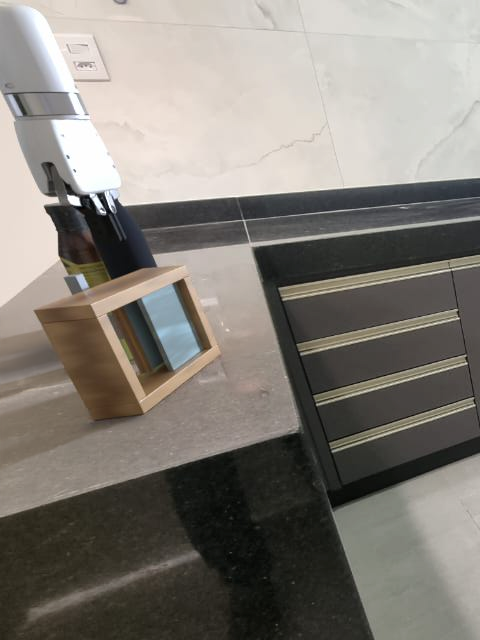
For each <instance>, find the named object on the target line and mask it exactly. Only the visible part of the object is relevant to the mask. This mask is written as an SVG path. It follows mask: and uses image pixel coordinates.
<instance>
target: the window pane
mask: <svg viewBox="0 0 480 640" xmlns="http://www.w3.org/2000/svg"><path fill="white" fill-rule="evenodd" d="M63 279H64V282H65V284H66V286H67V288H68V291H70V294H71V296H72V295H74V294H77V293H80V292H82V291H85V290H87V289H90V288H89V286H88V284H87V282H86V280H85V278H84V276H83V274H73V275H66V276H64V277H63ZM111 313H112V314H107V316H108V318H109V320H110V322H111V324H112V326H113V329H114V331H115V333H116V335H117V337H118V339H124V340H125V342H126V344H127V346H128V348H129V350H130V353H131V355H132V357H133V361H134V363H135V365H136V367H137V369H138V371H139V374H146V373H150V372H152V371H153V369H155V368H156V367H158V366H159V365H161V364H162V363H164V360H163V358H162V355H161V353H160V351H159V349H158V347H157V344H156V342H155V340H154V338H153V336H152V333H151V331H150V329H149V327H148V325H147V322H146V320H145V318H144V316H143V314H142V311H141V309H140V307H139V305H138V303H137V300H135V301H133V302H131V303H128V304H126V305H124V306H122V307H120V308H117V309H115V310H113V311H111Z"/></svg>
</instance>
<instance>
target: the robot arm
mask: <svg viewBox="0 0 480 640" xmlns="http://www.w3.org/2000/svg"><path fill="white" fill-rule="evenodd" d="M57 42H58V41H57V40H56V37H55V36H54V34H53V32H52V29H51V27H50V25H49V22H48V21H47V19H46V18H45V16H44V15H43V14H42V13H41V12H40V11H39V10H38V9H36V8H33V7H32V6H28V5H25V4H20V3H14V2H7V1H0V93H1V95H2V97H3V99H4V101H5V104H6V105H7V107H8V109H9V111H10V113H11V115H12V117H13V119H14V121H13V126H14V132H15V134H16V138H17V141H18V144H19V148H20V150H21V153H22V155H23V158H24V160H25V162H26V164H27V167H28V169H29V171H30V174H31V176H32V178H33V180H34V182H35V184H36V186H37V188H38V189H39V191H40V193H41V194H42V195H44V196H45V197H47V198H57V200H58V203H60V204H61V205H62V206H68V207H73V208H75V209H76V210H77V212H78V213H79V215H80V216H81V217H83V218H84V220H85V222H86V224H87V225H88V229H89V230H90V231H91V233H92V235H93V237H94V239H95V241H96V242H97V243H109V242H119V241H121V240H125V239H126V235H125V233H124V231H123V229H122V227H121V225H120V222H119V220H118V218H117V216H116V214H115V213H116V207H115V205H114V200H115V199H117V198H119V197H120V196H121V193H120V191H119V190H118V189H119V188H121V186H122V181H121V178H120V177H121V176H120V175H119V173H118V170H117V168H116V165H115V163H114V161H113V159H112V157H111V155H110V153H109V151H108V149H107V147H106V145H105V143H104V141H103V140H102V138H101V136H100V135H99V133H98V131H97V129H96V128H95V127H94V125H93V123H92V121H91V120H92V119H91V116H90V114H89V111H88V109H87V107H86V104H85V103H84V101H83V98H82V96H81V94H80V92H79V89H78V87H77V85H76V83H75V81H74V79H73V76H72V74H71V71H70V69H69V67H68V65H67V62H66V60H65V58H64V55H63V54H62V51H61V50H60V47H59V45H58V43H57Z"/></svg>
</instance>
